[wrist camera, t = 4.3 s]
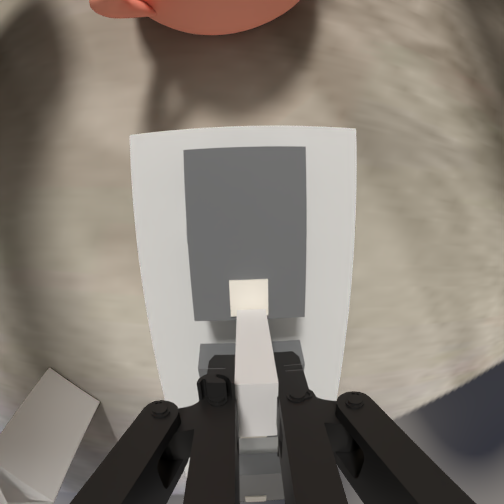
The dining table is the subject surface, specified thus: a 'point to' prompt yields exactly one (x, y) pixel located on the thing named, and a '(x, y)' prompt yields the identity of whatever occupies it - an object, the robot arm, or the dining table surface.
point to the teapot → (198, 13)
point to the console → (177, 257)
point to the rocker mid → (229, 349)
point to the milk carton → (43, 440)
